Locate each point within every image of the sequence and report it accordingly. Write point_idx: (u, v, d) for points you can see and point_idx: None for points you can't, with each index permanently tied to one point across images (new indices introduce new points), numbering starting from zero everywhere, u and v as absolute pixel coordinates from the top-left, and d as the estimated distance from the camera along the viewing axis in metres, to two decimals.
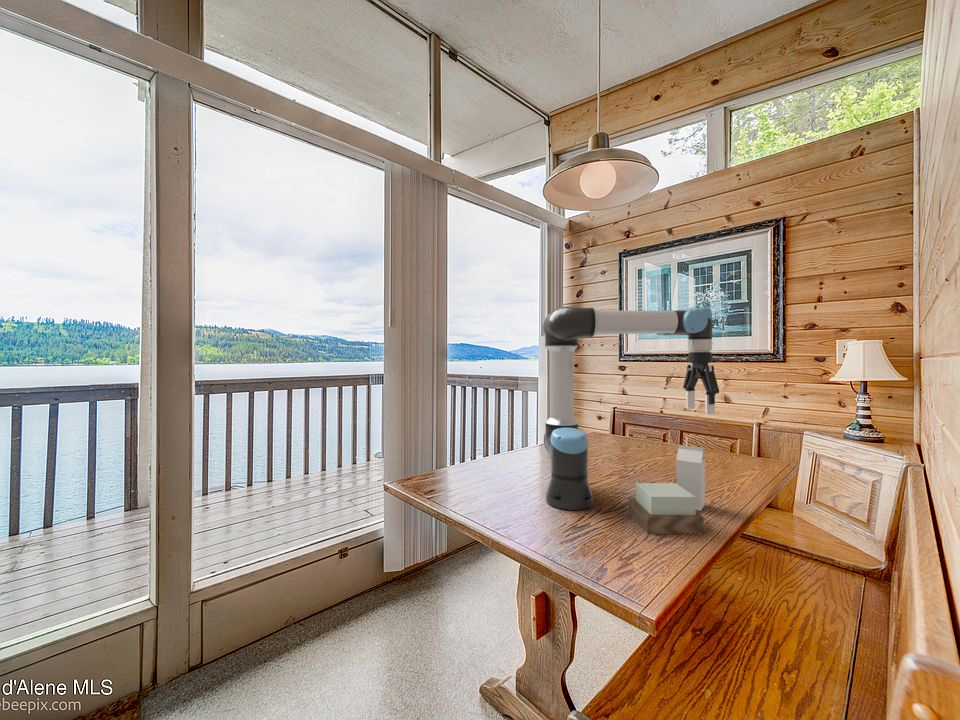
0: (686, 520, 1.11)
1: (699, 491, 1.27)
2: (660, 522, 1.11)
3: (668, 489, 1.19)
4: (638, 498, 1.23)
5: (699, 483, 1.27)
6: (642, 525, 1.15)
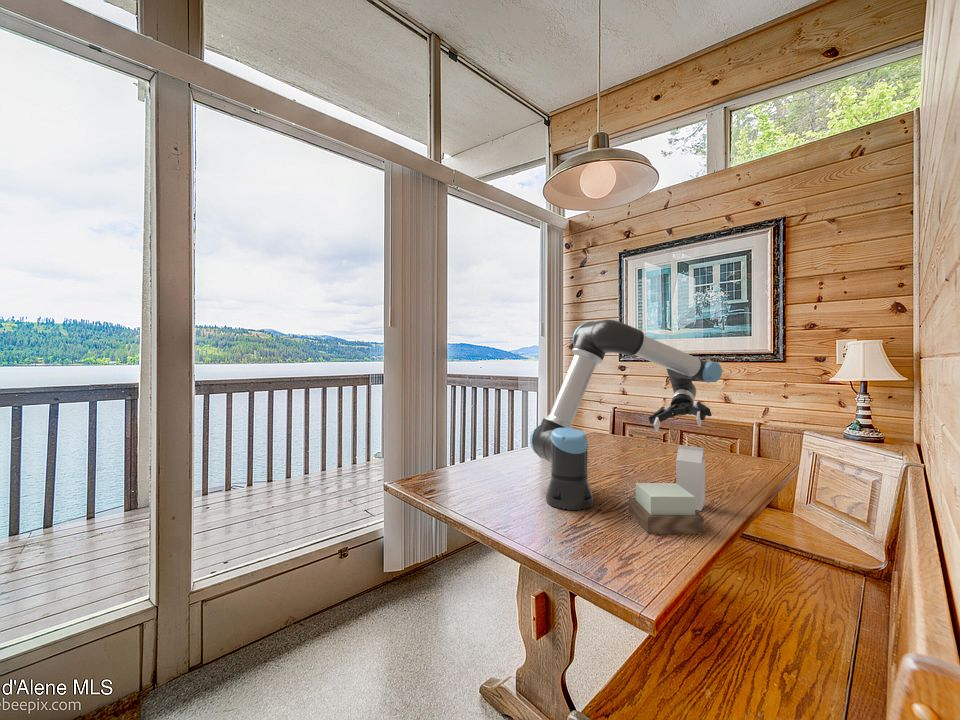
0: (687, 520, 1.11)
1: (699, 491, 1.27)
2: (660, 522, 1.11)
3: (668, 489, 1.19)
4: (638, 498, 1.23)
5: (699, 483, 1.27)
6: (643, 525, 1.15)
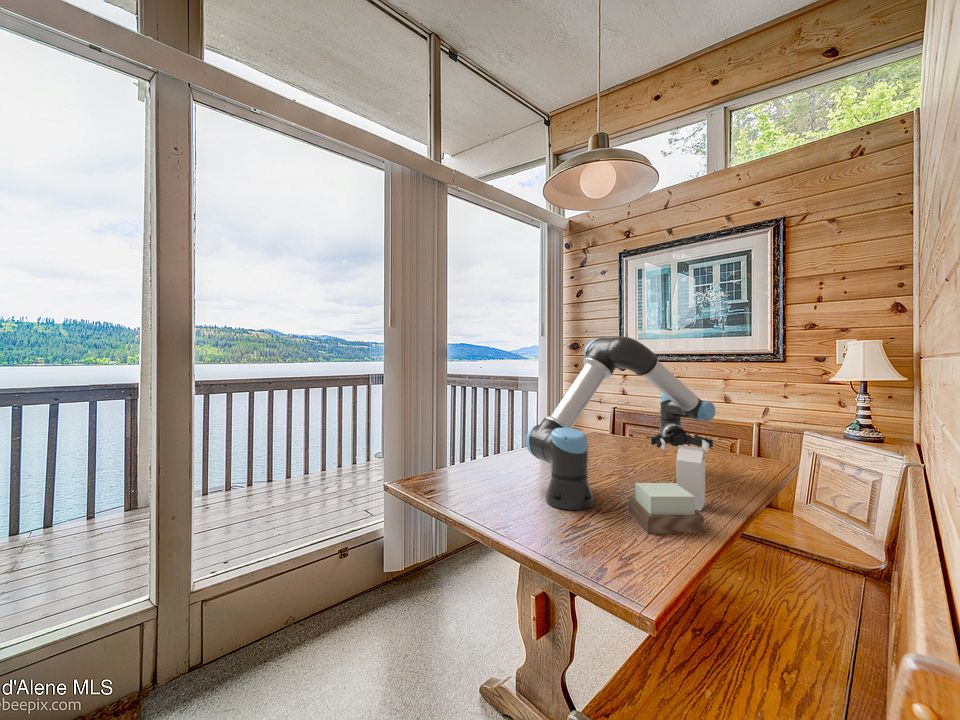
0: (687, 520, 1.11)
1: (699, 491, 1.27)
2: (660, 522, 1.11)
3: (667, 489, 1.19)
4: (637, 498, 1.23)
5: (699, 483, 1.27)
6: (643, 525, 1.15)
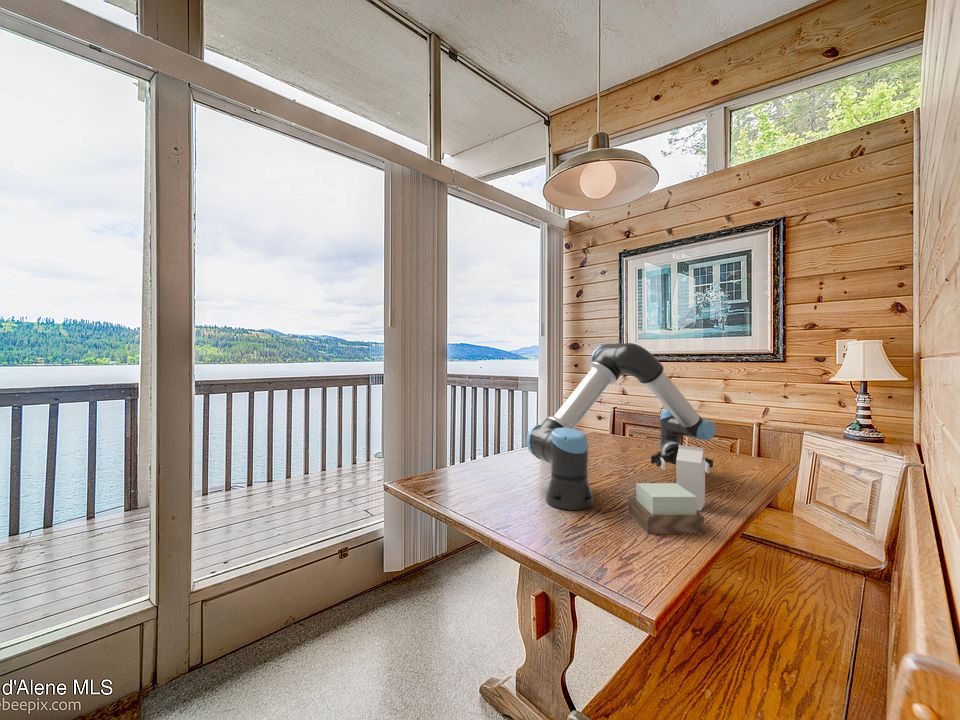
0: (687, 520, 1.11)
1: (699, 491, 1.27)
2: (660, 522, 1.11)
3: (669, 489, 1.19)
4: (638, 498, 1.22)
5: (699, 483, 1.27)
6: (643, 525, 1.15)
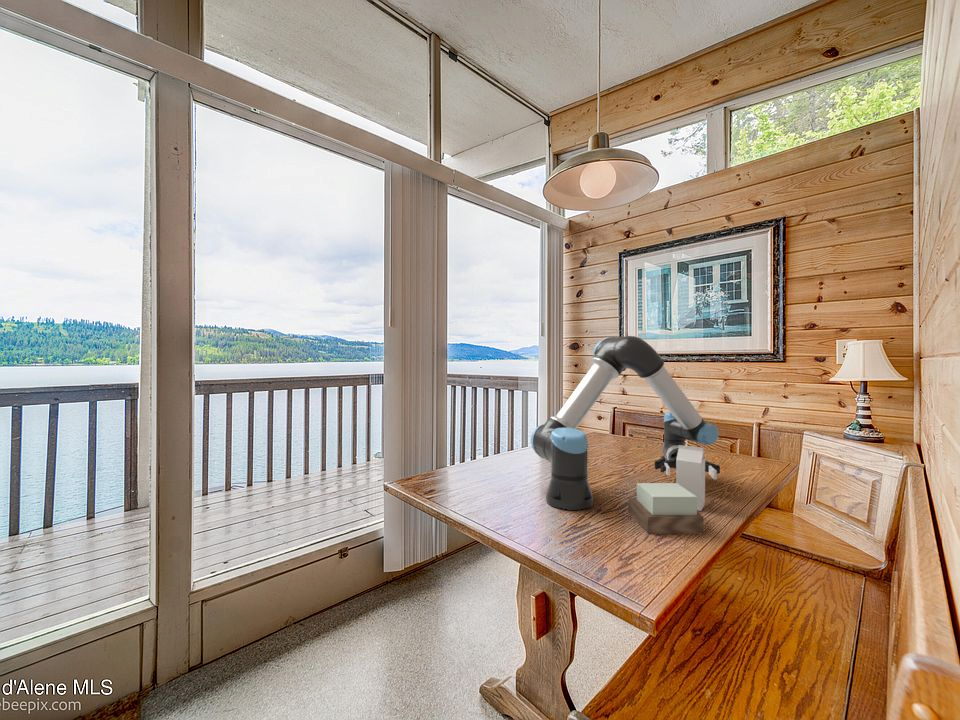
0: (686, 520, 1.11)
1: (699, 491, 1.27)
2: (660, 522, 1.11)
3: (669, 489, 1.19)
4: (639, 498, 1.23)
5: (699, 483, 1.27)
6: (642, 525, 1.15)
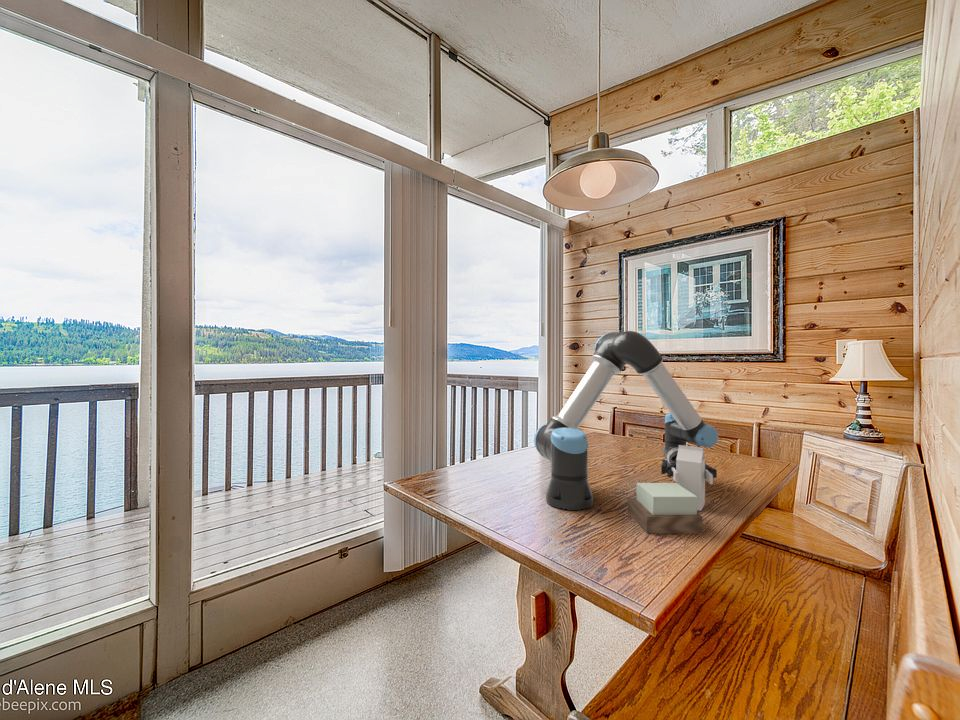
0: (686, 519, 1.11)
1: (699, 491, 1.27)
2: (659, 522, 1.11)
3: (669, 489, 1.19)
4: (639, 498, 1.23)
5: (699, 483, 1.27)
6: (642, 525, 1.15)
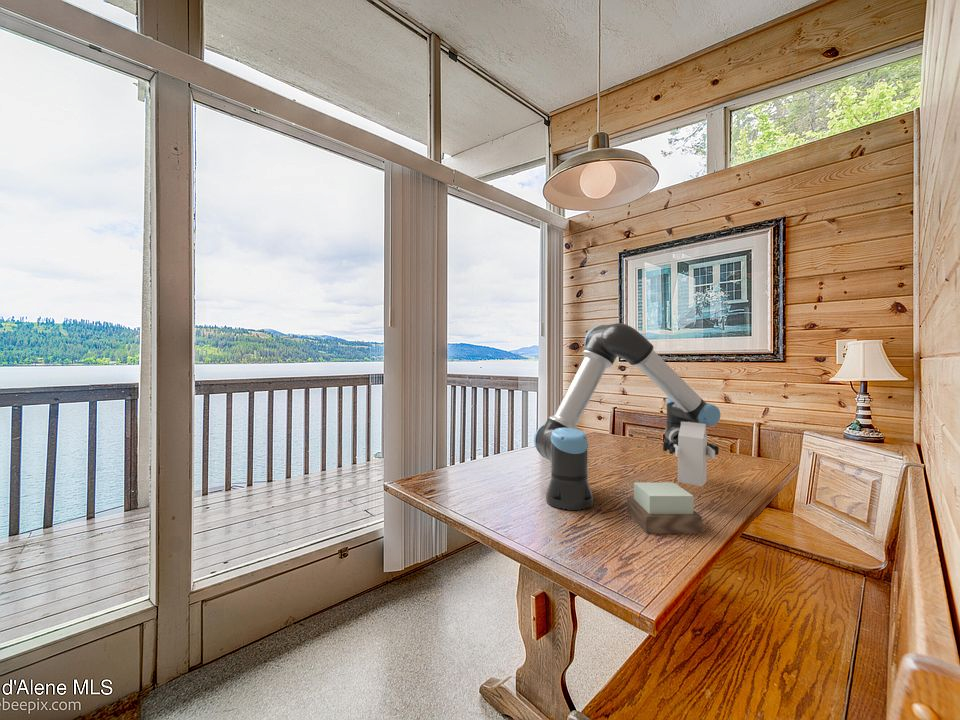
0: (685, 519, 1.11)
1: (701, 466, 1.27)
2: (658, 521, 1.11)
3: (666, 488, 1.19)
4: (636, 497, 1.23)
5: (701, 458, 1.27)
6: (641, 524, 1.15)
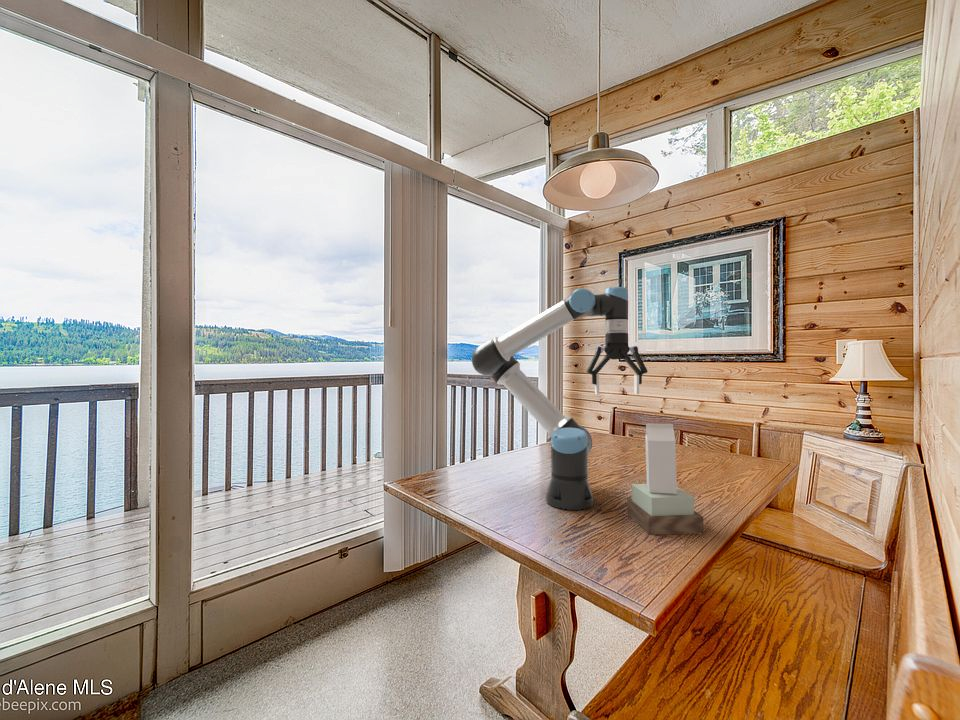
0: (687, 520, 1.11)
1: (674, 472, 1.13)
2: (661, 523, 1.11)
3: None
4: (635, 499, 1.22)
5: (674, 463, 1.13)
6: (643, 526, 1.14)
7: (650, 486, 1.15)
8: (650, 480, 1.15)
